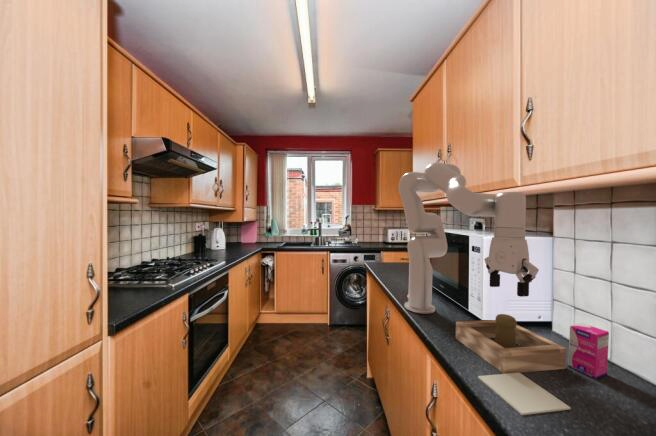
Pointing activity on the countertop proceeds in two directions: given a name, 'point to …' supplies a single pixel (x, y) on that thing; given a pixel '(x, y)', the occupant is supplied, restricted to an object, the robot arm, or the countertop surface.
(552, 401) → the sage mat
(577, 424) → the countertop surface
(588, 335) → the supplement box
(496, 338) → the cork
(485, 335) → the box
